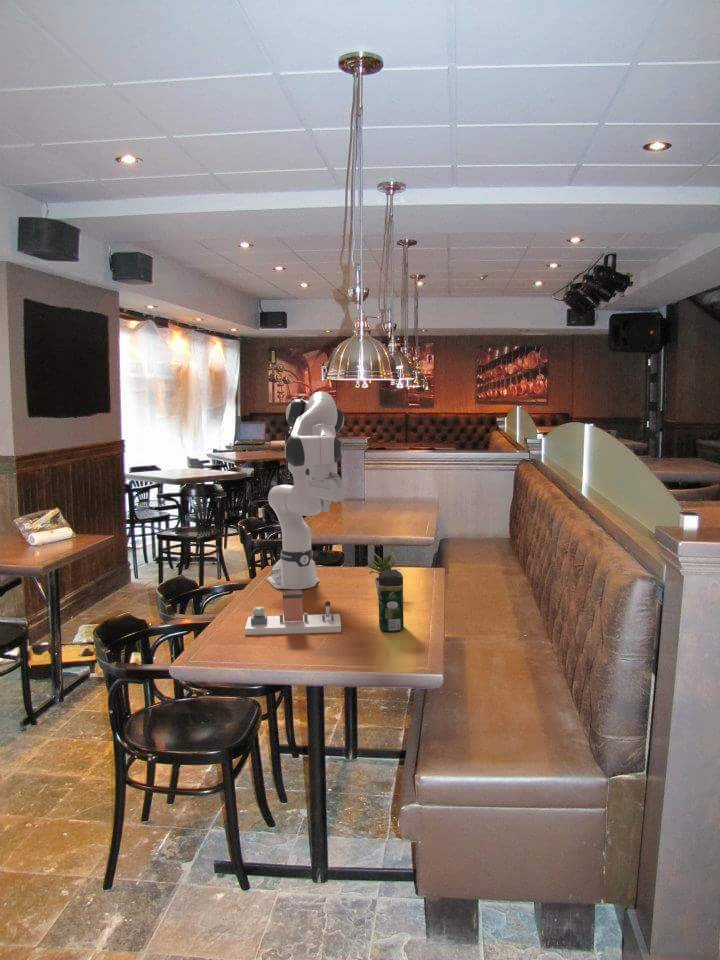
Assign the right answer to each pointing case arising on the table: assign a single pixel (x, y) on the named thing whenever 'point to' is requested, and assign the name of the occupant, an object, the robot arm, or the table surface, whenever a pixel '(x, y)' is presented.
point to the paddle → (293, 605)
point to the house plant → (382, 566)
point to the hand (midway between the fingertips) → (325, 511)
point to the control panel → (292, 624)
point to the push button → (258, 611)
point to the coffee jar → (390, 600)
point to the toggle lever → (327, 608)
